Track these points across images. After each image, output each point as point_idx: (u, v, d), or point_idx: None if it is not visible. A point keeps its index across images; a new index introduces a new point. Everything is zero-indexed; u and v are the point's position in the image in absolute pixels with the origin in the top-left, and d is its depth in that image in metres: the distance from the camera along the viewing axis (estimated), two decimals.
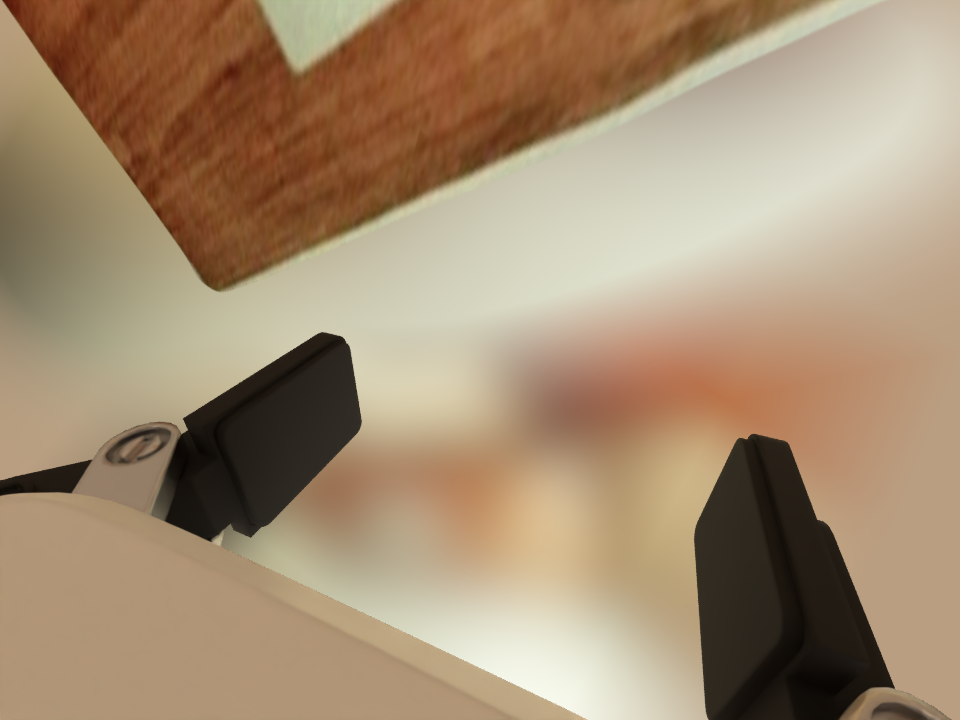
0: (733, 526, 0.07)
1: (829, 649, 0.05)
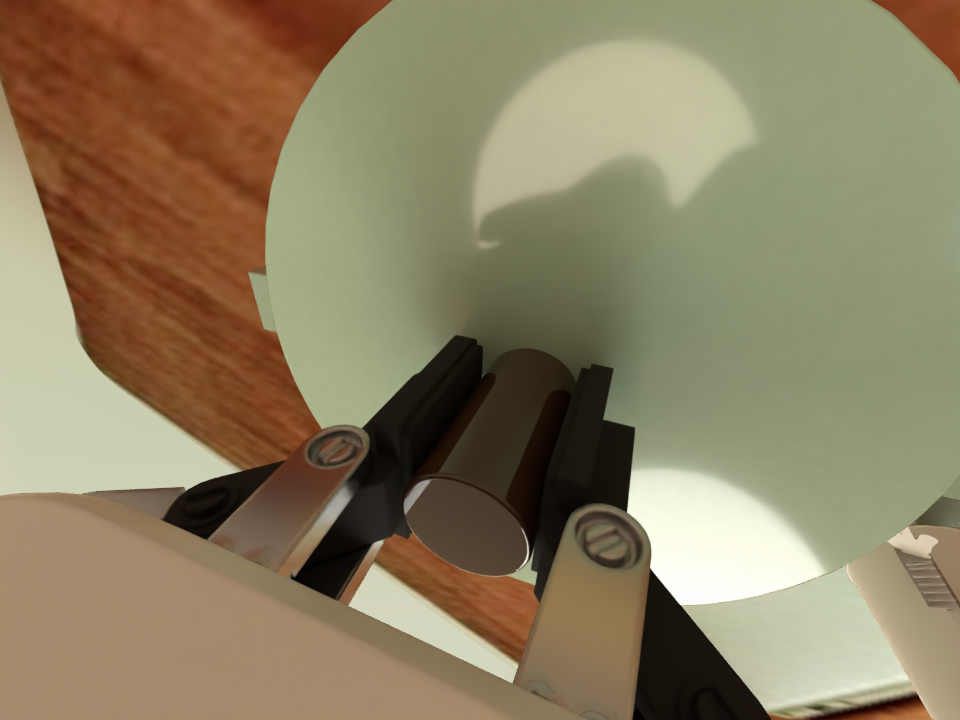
0: None
1: (568, 481, 0.07)
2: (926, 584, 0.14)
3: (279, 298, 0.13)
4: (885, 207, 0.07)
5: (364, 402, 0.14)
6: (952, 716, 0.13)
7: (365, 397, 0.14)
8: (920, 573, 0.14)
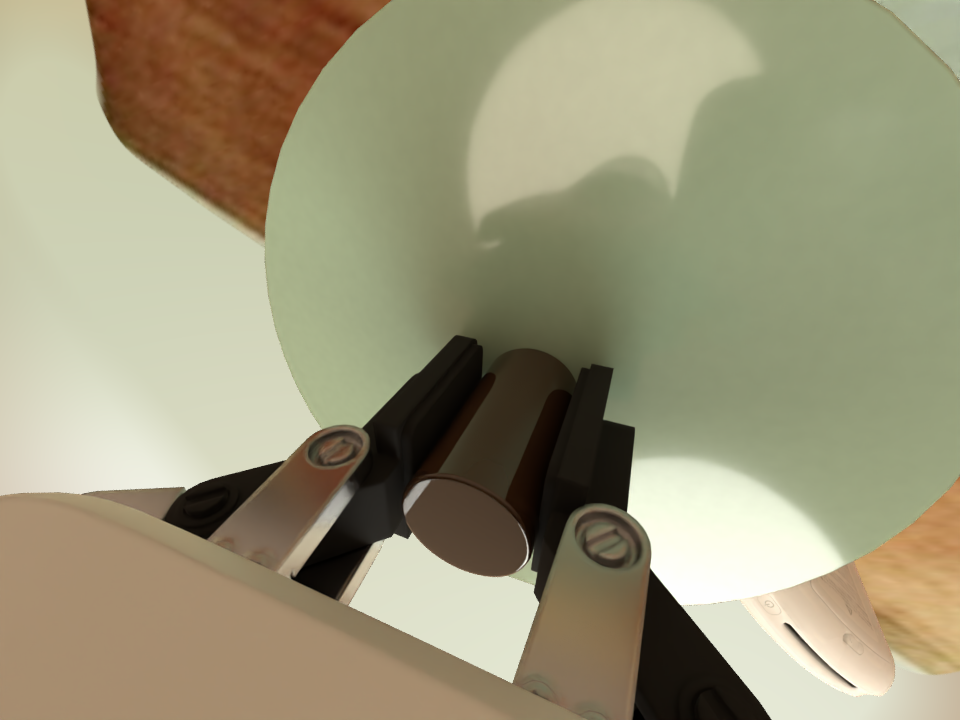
0: None
1: (568, 481, 0.07)
2: None
3: (279, 298, 0.13)
4: (885, 207, 0.07)
5: (364, 402, 0.14)
6: None
7: (364, 397, 0.14)
8: None
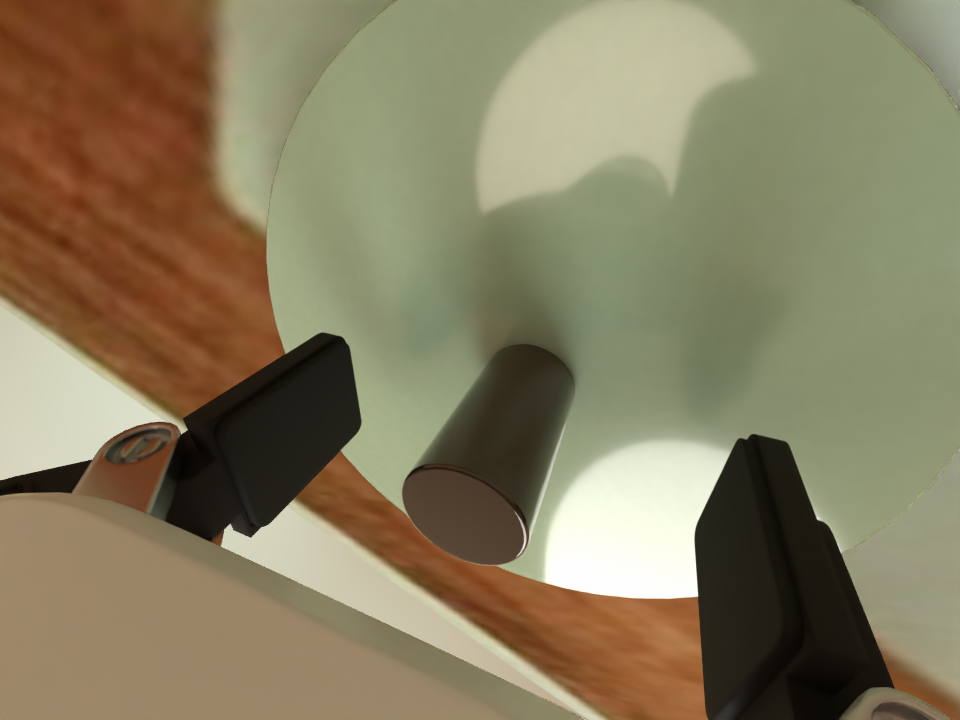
0: (733, 526, 0.07)
1: (829, 649, 0.05)
2: None
3: (280, 296, 0.13)
4: (871, 204, 0.07)
5: (364, 398, 0.14)
6: None
7: (364, 393, 0.14)
8: None
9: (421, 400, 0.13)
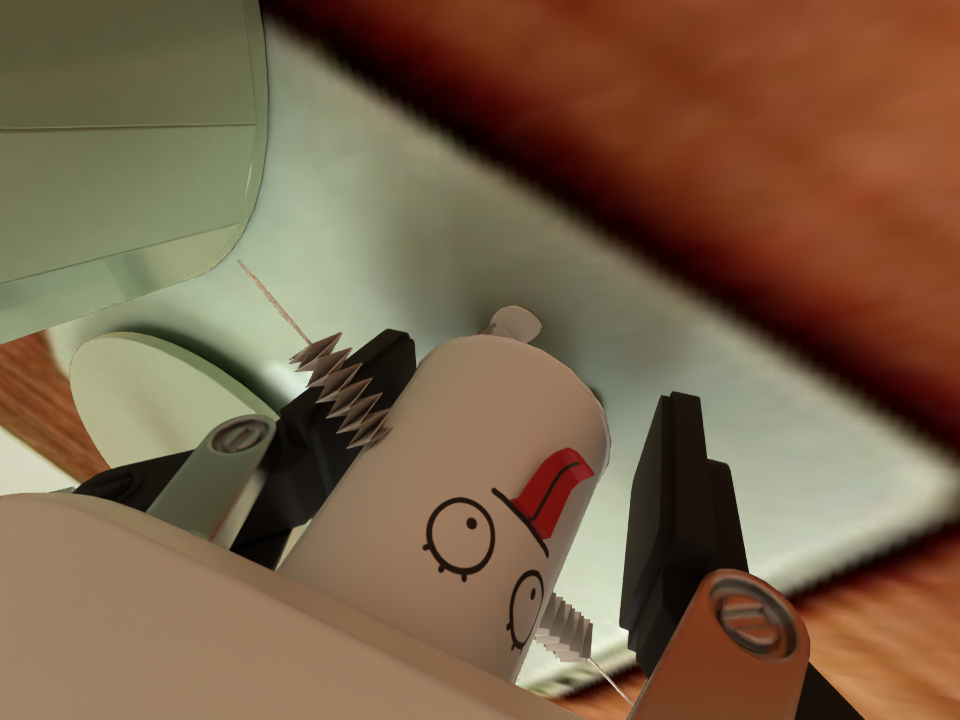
0: (649, 468, 0.08)
1: (689, 541, 0.06)
2: (339, 403, 0.07)
3: (92, 434, 0.23)
4: None
5: None
6: None
7: None
8: (327, 382, 0.07)
9: None
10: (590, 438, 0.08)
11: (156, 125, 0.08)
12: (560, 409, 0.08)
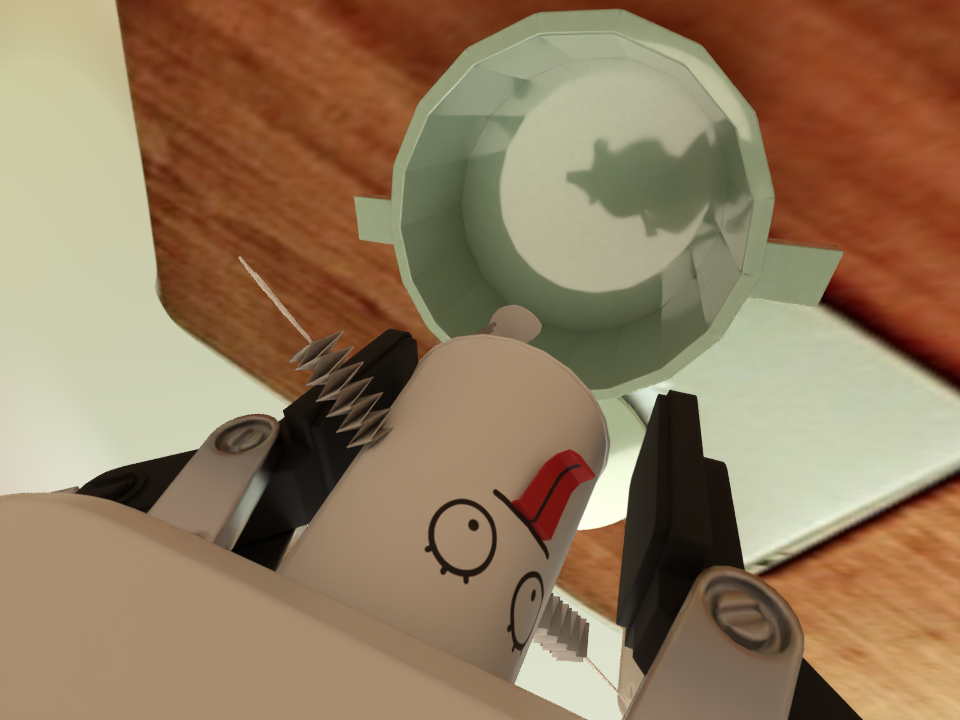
0: (646, 466, 0.08)
1: (685, 538, 0.06)
2: (340, 402, 0.07)
3: None
4: (620, 424, 0.31)
5: None
6: None
7: None
8: (328, 380, 0.07)
9: None
10: (590, 439, 0.08)
11: None
12: (561, 410, 0.08)
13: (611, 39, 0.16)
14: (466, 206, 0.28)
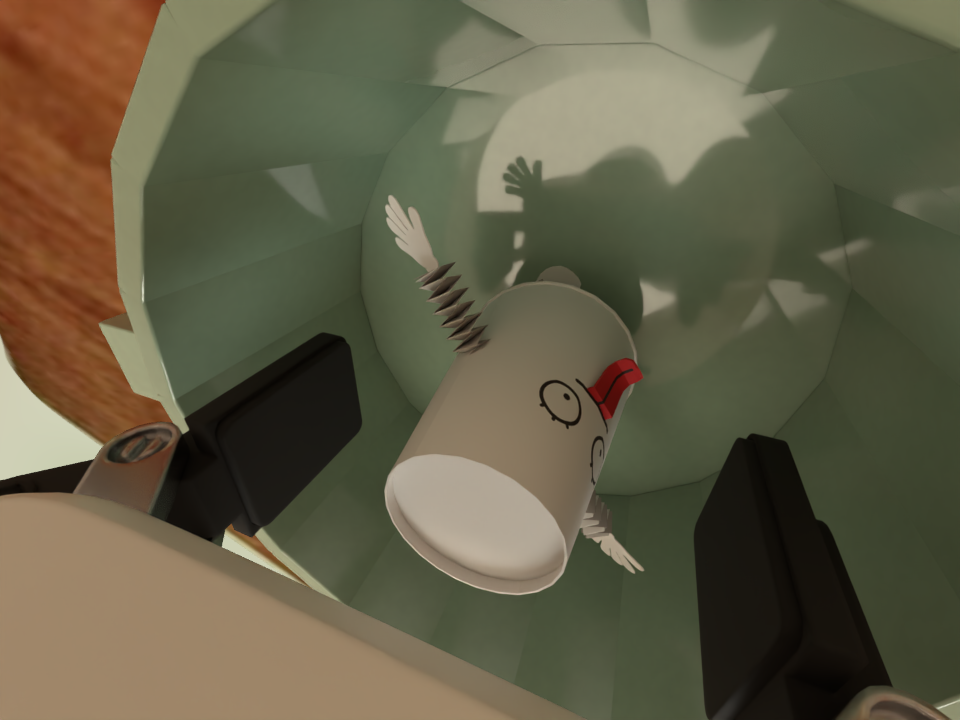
0: (732, 525, 0.07)
1: (827, 647, 0.05)
2: (450, 317, 0.10)
3: None
4: None
5: None
6: (393, 472, 0.08)
7: None
8: (442, 299, 0.09)
9: None
10: None
11: None
12: (610, 338, 0.10)
13: None
14: (369, 297, 0.17)
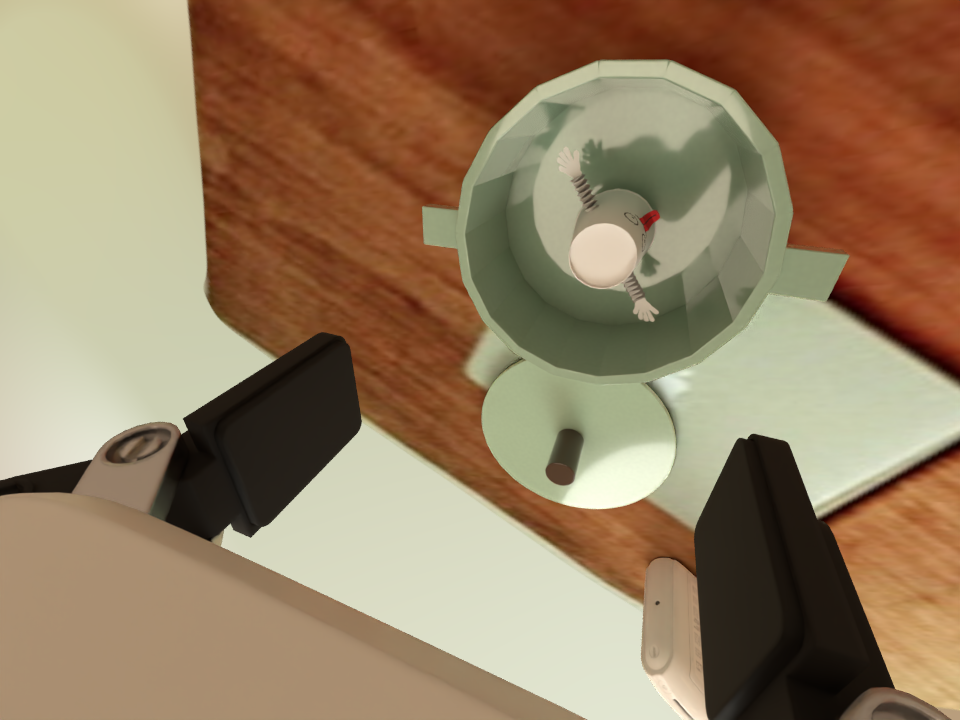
0: (733, 526, 0.07)
1: (829, 649, 0.05)
2: (583, 196, 0.24)
3: (486, 407, 0.41)
4: (645, 409, 0.34)
5: (511, 440, 0.42)
6: None
7: (511, 438, 0.42)
8: (580, 189, 0.24)
9: (533, 442, 0.41)
10: (651, 223, 0.25)
11: None
12: (645, 209, 0.25)
13: (657, 80, 0.19)
14: (510, 213, 0.31)
